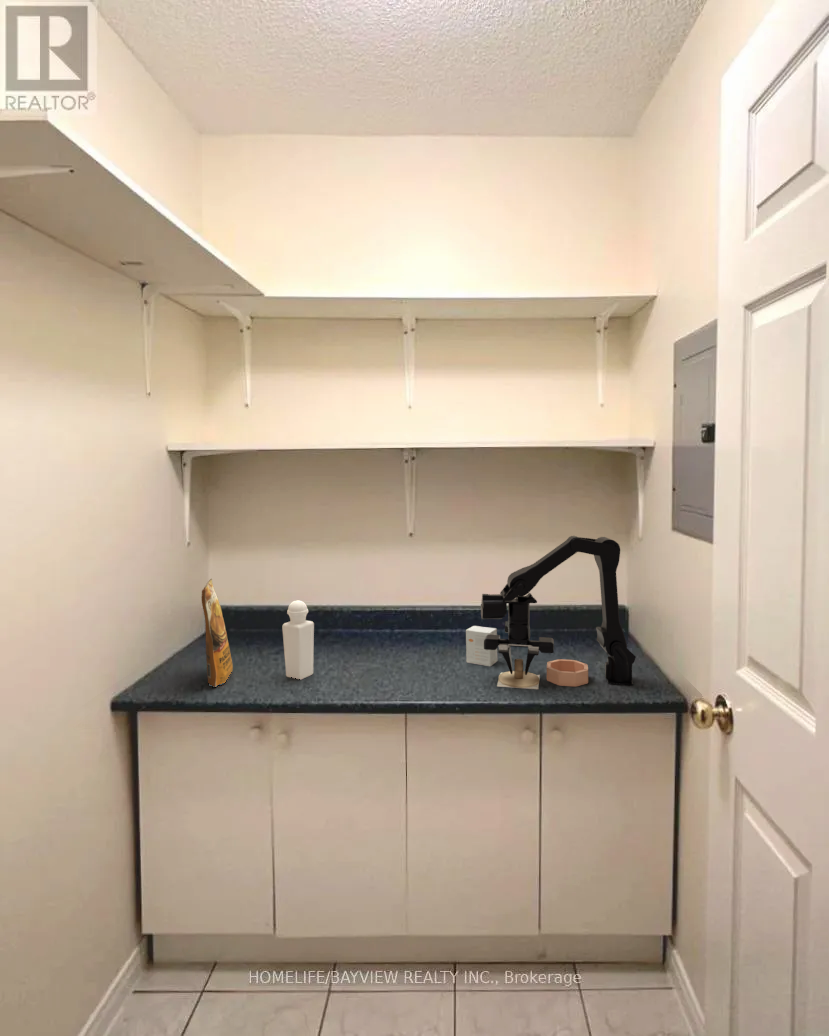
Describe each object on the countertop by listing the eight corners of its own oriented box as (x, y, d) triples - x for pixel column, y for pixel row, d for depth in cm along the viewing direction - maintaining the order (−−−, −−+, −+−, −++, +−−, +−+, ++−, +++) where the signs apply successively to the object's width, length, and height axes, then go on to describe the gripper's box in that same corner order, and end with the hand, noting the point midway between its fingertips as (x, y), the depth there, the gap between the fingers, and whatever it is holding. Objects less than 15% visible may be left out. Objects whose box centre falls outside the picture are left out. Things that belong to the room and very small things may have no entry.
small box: (497, 662, 186) (497, 628, 185) (490, 667, 181) (490, 632, 180) (473, 658, 190) (473, 625, 189) (465, 663, 185) (465, 629, 184)
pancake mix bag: (197, 691, 166) (192, 589, 163) (214, 668, 184) (209, 576, 182) (222, 690, 166) (218, 588, 164) (236, 667, 185) (233, 575, 182)
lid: (539, 675, 173) (539, 655, 173) (538, 689, 163) (538, 667, 162) (500, 672, 176) (500, 652, 175) (496, 686, 165) (496, 665, 165)
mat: (539, 676, 173) (539, 674, 173) (538, 690, 163) (538, 689, 163) (500, 673, 176) (500, 672, 176) (496, 687, 165) (496, 686, 165)
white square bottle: (300, 680, 172) (298, 604, 170) (283, 676, 176) (280, 601, 174) (315, 673, 178) (313, 599, 176) (298, 670, 181) (296, 597, 179)
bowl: (586, 674, 174) (587, 660, 174) (588, 688, 164) (588, 674, 163) (547, 672, 177) (547, 658, 176) (546, 685, 166) (546, 671, 166)
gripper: (554, 612, 173) (553, 666, 175) (488, 610, 178) (488, 662, 179) (553, 623, 163) (553, 680, 164) (483, 619, 167) (483, 675, 168)
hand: (518, 674), depth 169 cm, fingers open, 4 cm apart
